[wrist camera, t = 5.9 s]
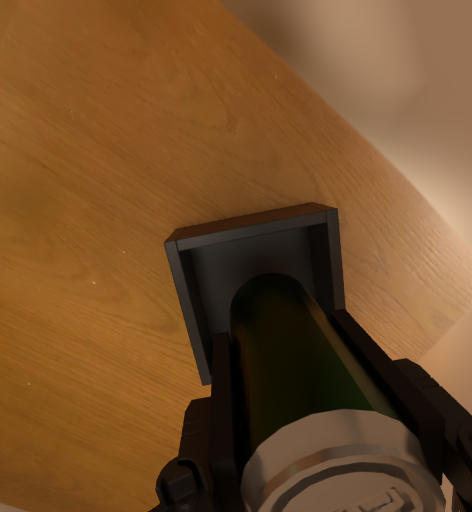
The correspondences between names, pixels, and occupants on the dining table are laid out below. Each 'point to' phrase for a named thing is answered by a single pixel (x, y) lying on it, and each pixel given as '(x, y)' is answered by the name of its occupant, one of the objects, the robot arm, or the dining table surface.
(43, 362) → the dining table surface
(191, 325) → the bin
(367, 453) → the beer can
